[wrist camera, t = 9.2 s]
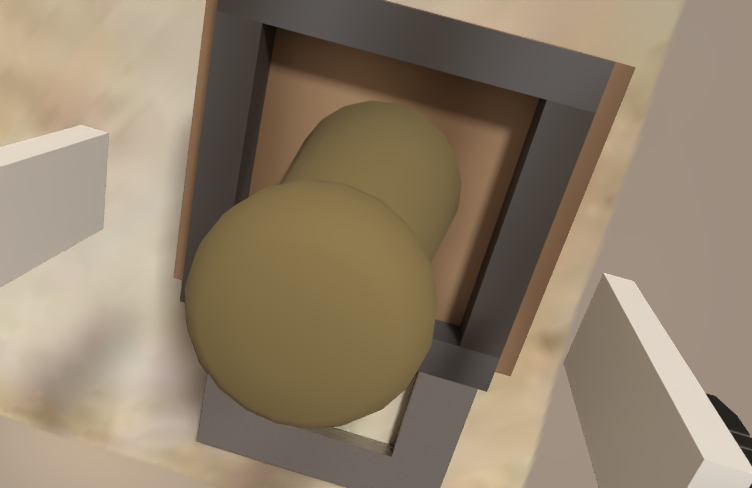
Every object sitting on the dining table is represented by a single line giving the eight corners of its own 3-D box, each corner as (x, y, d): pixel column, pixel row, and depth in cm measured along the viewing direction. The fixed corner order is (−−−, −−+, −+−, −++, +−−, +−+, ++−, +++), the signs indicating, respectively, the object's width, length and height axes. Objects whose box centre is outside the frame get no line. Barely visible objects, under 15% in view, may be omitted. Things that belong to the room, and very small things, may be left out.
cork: (280, 238, 22) (121, 426, 12) (312, 79, 20) (148, 143, 10) (433, 283, 22) (405, 514, 12) (484, 127, 19) (503, 247, 9)
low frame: (203, 431, 39) (196, 441, 38) (237, 215, 33) (230, 221, 32) (431, 501, 38) (430, 513, 37) (509, 294, 32) (511, 302, 31)
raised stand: (256, 204, 33) (155, 293, 22) (296, -24, 28) (191, -51, 17) (498, 273, 32) (513, 399, 21) (578, 51, 27) (649, 71, 17)
